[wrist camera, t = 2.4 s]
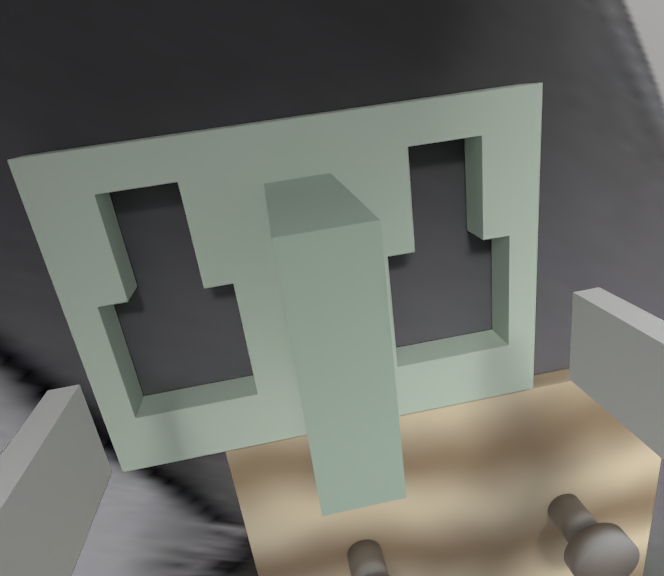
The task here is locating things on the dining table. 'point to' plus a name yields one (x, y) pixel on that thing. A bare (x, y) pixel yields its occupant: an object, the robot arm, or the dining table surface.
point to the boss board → (468, 495)
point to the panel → (251, 262)
